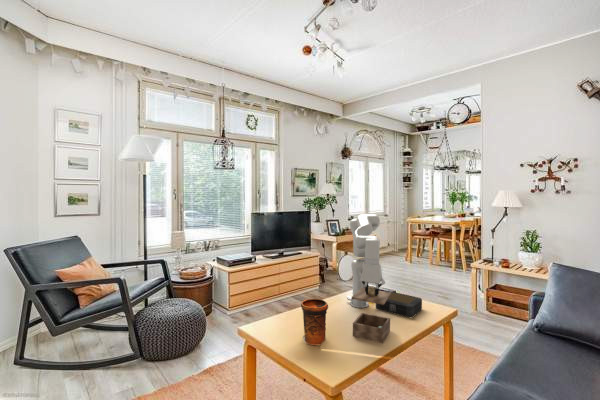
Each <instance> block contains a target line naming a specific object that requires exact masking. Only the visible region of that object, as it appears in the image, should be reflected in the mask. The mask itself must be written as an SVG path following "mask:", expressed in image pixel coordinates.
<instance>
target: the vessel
mask: <svg viewBox="0 0 600 400" xmlns="http://www.w3.org/2000/svg"><path fill="white" fill-rule="evenodd" d="M300 307H301V309H302V315H303V316H302V317H303V318H302V319H303V332H304V335H303V337H302V340H303V342H305V343H304V344H306V345H312V346H318V347H319V346H320V347H321V345H322V344H323V342H324V341H325V340H326V330H327V327H326V326H327V323H326V322H327V321H326V320H327V319H326V318H327V317H326V316H327V313H328V312H327V311H328V309H329V305H328V302H326V301H325V300H323V299H320V298H309V299H305V300H303V301H301V303H300Z"/></svg>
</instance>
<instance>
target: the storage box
mask: <svg viewBox="0 0 600 400" xmlns="http://www.w3.org/2000/svg"><path fill="white" fill-rule="evenodd" d="M379 326H382V328H378V327H379ZM390 332H391V318H390V317H386V316H380V315H375V314H369V313H366V312H362V313H360V314H359V316H358V317H357V318H356V319H355V320H354V321H353V322H352V336H353V337H355V338H360V339H363V340H364V339H365V340H367V341H372V342H376V343H380V344H384V342H385V340H386V338H388V337H387V336H388V335H389V333H390Z"/></svg>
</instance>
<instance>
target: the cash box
mask: <svg viewBox="0 0 600 400" xmlns="http://www.w3.org/2000/svg"><path fill="white" fill-rule="evenodd" d="M385 292H391V296H390V297H389V298H388V300H387V301H386V302H385V304H384V305H381V304H376V303H375V309H377V310H380V311H383V312H387V313H391V314H394V313H395V315H398V314H399V316H402V315H403V317H406V316H407V318H409V317H412V318H414V317H415V316H416V315H417V314H418V313H420V312H421V311H422V310H423V298H421V297H418V296H413V295H409V294H404V293H400V292H394V291H392V290H386V291H385ZM421 309H422V310H421ZM420 310H421V311H420ZM415 314H416V315H415ZM414 315H415V316H414ZM413 316H414V317H413Z"/></svg>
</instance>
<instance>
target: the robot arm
mask: <svg viewBox="0 0 600 400" xmlns="http://www.w3.org/2000/svg"><path fill="white" fill-rule="evenodd" d="M380 222H381V221H380V217H379V216H378V215H377V214H376V213H375V214H374V213H363V214H359V215H358V216H356V218H353V219H351V220H350V222H349V228H350V231H351V234H352V238H353V239H352V243H353V249H352V250H353V256H354V257H356V259H353V260H352V261H351V266H350V267H351V273H352V296H353V295H354V294H355V293H356V292H357V291H359V290H360V289H361V288H365V292H366V294H368V286H369V283H370V284H375V285H374V286H375V287H376V288H375V296H377V295H378V294H379V291H380V289H379V288H381V287H382V286H384V285H385V284H386V281H385V280H384V278H383V274H382V273H383V272H382V265H381V263H380V246H381V240H380V239H379V237H378V236H377V235H371V234H372V233H373V232H375V231H377V230H378V228H379V226H380V224H381V223H380ZM352 296H349V295H348V296H346V299H347V301H350V306H352V307H354V308H358V309H362V308H363V309H364V308H367V307H369V305H370V304H369V303H370V302H365V301H360V300H354V299H352Z"/></svg>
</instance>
